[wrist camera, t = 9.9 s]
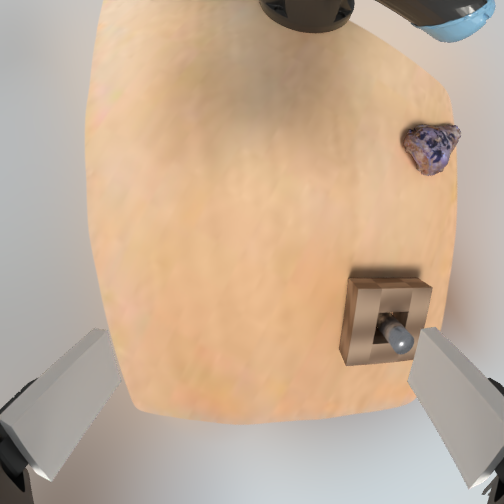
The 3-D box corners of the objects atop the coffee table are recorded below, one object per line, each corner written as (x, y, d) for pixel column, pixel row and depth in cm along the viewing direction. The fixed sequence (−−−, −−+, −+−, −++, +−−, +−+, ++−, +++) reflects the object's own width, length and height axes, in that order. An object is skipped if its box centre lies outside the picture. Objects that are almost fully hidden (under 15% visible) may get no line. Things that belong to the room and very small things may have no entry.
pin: (372, 305, 41) (396, 335, 31) (389, 305, 41) (416, 333, 31) (369, 323, 42) (392, 355, 32) (385, 322, 42) (411, 353, 32)
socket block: (348, 277, 41) (358, 288, 36) (417, 277, 40) (432, 287, 35) (338, 349, 43) (345, 365, 38) (403, 344, 42) (415, 359, 37)
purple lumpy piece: (445, 116, 35) (466, 109, 29) (462, 160, 36) (484, 158, 30) (391, 134, 36) (409, 127, 30) (410, 182, 37) (430, 182, 31)
